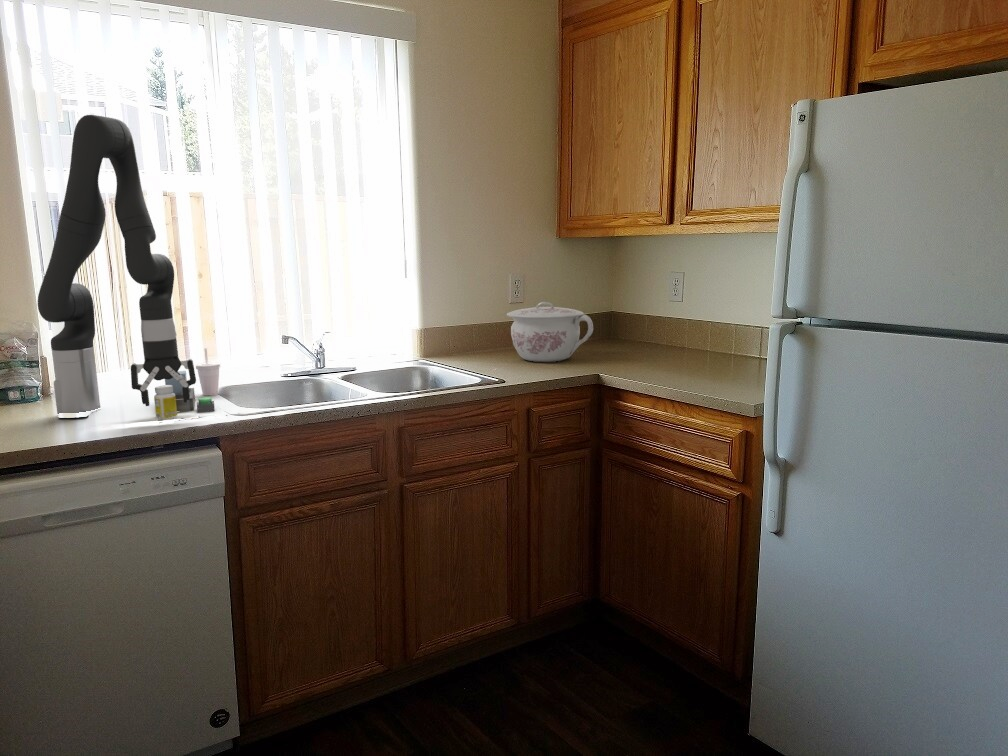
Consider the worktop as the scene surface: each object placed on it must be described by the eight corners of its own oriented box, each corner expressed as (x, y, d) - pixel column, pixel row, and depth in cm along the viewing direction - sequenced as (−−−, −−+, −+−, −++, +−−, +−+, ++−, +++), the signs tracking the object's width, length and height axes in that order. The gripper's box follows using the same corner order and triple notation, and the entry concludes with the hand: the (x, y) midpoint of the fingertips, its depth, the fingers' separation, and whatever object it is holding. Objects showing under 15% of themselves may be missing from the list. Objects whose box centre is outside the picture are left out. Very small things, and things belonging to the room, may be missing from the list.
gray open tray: (158, 418, 188) (156, 401, 188) (162, 405, 204) (160, 389, 203) (194, 415, 191) (193, 398, 190) (195, 402, 207) (194, 387, 206)
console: (197, 417, 189) (196, 405, 188) (198, 413, 193) (197, 402, 192) (214, 415, 190) (213, 403, 190) (214, 412, 194) (213, 400, 193)
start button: (199, 416, 189) (198, 400, 189) (199, 413, 192) (198, 397, 192) (213, 415, 191) (211, 399, 190) (213, 412, 193) (211, 396, 193)
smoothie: (215, 395, 217) (211, 346, 214) (227, 397, 213) (223, 348, 210) (194, 398, 212) (189, 349, 209) (206, 401, 208) (201, 351, 205)
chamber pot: (494, 357, 278) (493, 301, 274) (560, 352, 289) (560, 297, 286) (529, 368, 253) (528, 306, 249) (599, 361, 264) (599, 302, 261)
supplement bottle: (180, 417, 189) (177, 384, 187) (173, 422, 184) (170, 388, 183) (161, 418, 188) (157, 384, 187) (153, 422, 184) (149, 388, 182)
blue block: (167, 405, 198) (164, 375, 196) (168, 401, 202) (165, 372, 201) (188, 403, 200) (185, 373, 198) (188, 399, 204) (185, 370, 203)
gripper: (124, 341, 177) (133, 409, 179) (190, 337, 181) (197, 403, 184) (128, 338, 184) (136, 404, 186) (191, 334, 188) (198, 398, 191)
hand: (166, 403), depth 185 cm, fingers open, 8 cm apart
